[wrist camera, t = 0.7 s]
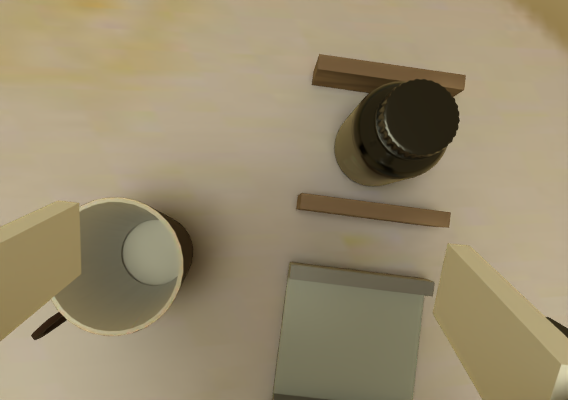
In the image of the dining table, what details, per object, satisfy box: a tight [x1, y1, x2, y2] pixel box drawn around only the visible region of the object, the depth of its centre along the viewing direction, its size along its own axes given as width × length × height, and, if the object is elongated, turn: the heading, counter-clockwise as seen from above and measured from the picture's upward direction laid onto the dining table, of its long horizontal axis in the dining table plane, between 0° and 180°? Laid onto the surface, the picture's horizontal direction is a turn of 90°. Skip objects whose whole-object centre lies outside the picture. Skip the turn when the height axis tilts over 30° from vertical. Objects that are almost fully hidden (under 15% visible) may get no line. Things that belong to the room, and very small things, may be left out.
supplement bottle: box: [335, 79, 460, 186], centre depth 31 cm, size 7×7×12 cm
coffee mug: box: [31, 197, 193, 340], centre depth 31 cm, size 12×9×10 cm
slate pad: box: [272, 262, 434, 400], centre depth 35 cm, size 12×12×2 cm
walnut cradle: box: [296, 54, 466, 227], centre depth 35 cm, size 12×12×4 cm
